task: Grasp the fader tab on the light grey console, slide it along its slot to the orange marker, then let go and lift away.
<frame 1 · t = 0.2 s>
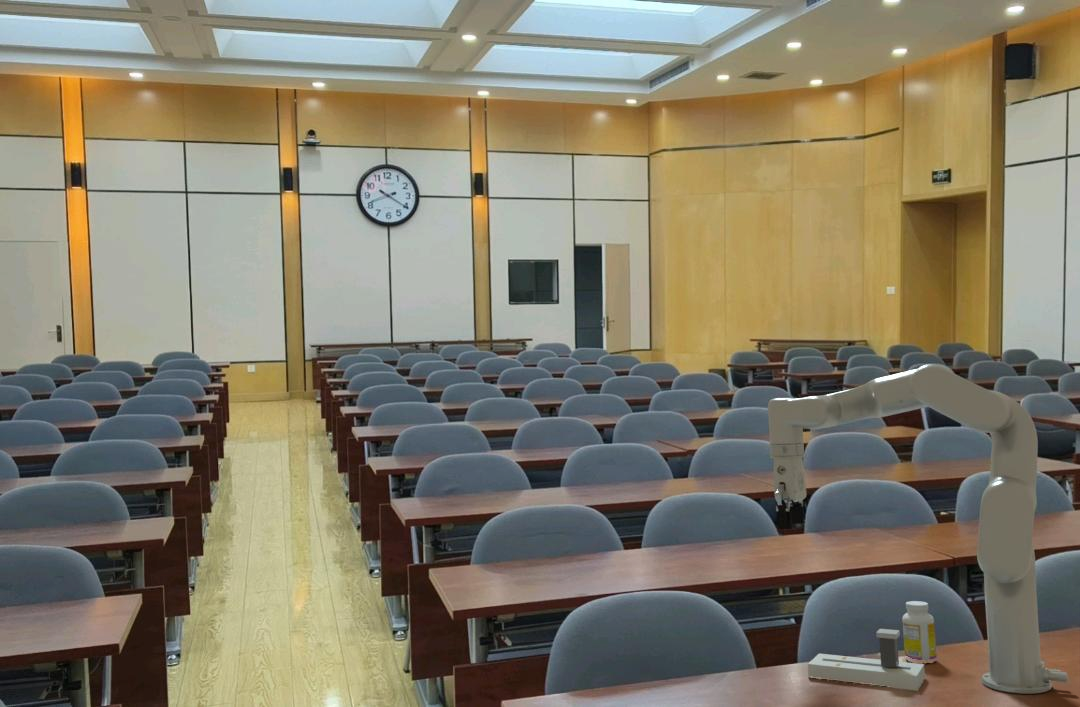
hand: (791, 526, 213), 31 cm above the table, tool pointing down, fingers open, 9 cm apart
fader tab: (889, 648, 195), point 7 cm above the table, slide at 0.0 cm
supplement bottle: (920, 661, 208), on the table
console: (866, 678, 197), on the table
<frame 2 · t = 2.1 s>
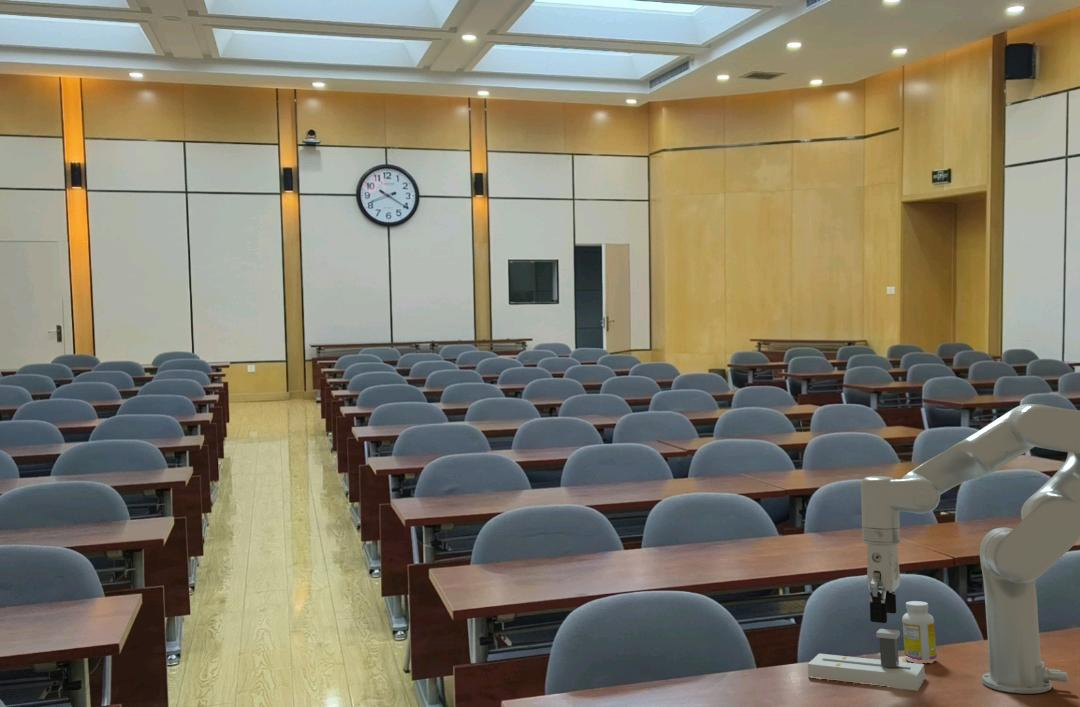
hand: (883, 617, 196), 13 cm above the table, tool pointing down, fingers open, 9 cm apart
nothing on the table moved.
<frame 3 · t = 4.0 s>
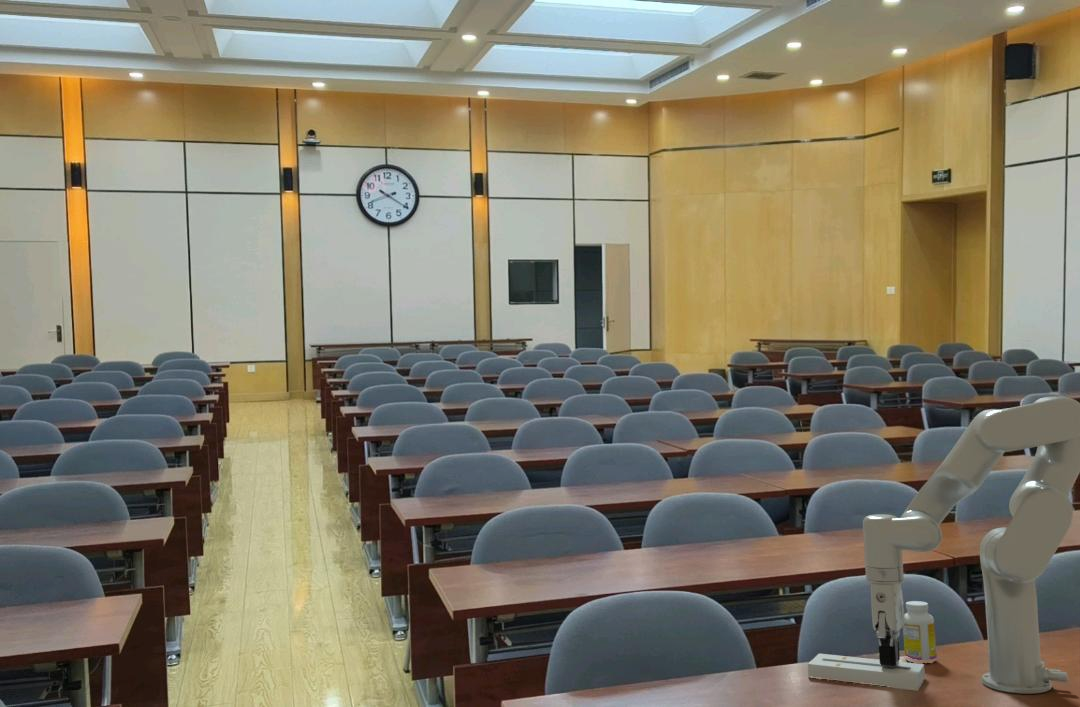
hand: (889, 661, 195), 4 cm above the table, tool pointing down, fingers closed on fader tab, 3 cm apart
fader tab: (889, 648, 195), point 7 cm above the table, slide at 0.0 cm, touching gripper
everything else where it was.
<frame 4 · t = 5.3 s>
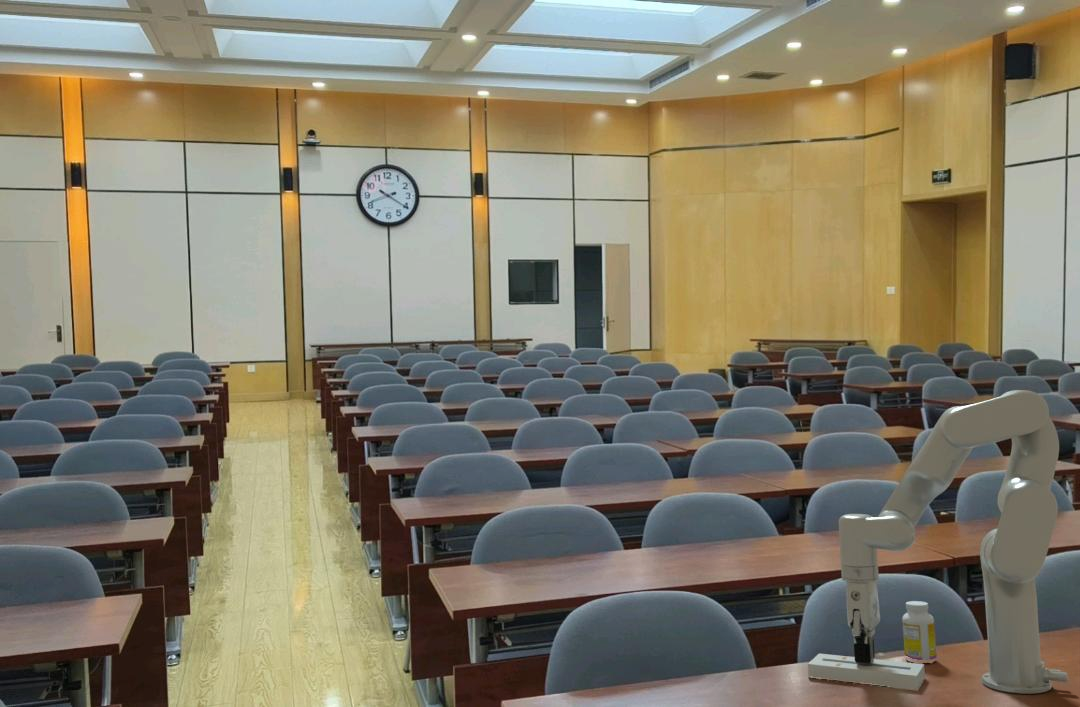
hand: (864, 659, 197), 4 cm above the table, tool pointing down, fingers closed on fader tab, 3 cm apart
fader tab: (864, 645, 198), point 7 cm above the table, slide at 5.1 cm, touching gripper
everything else where it was.
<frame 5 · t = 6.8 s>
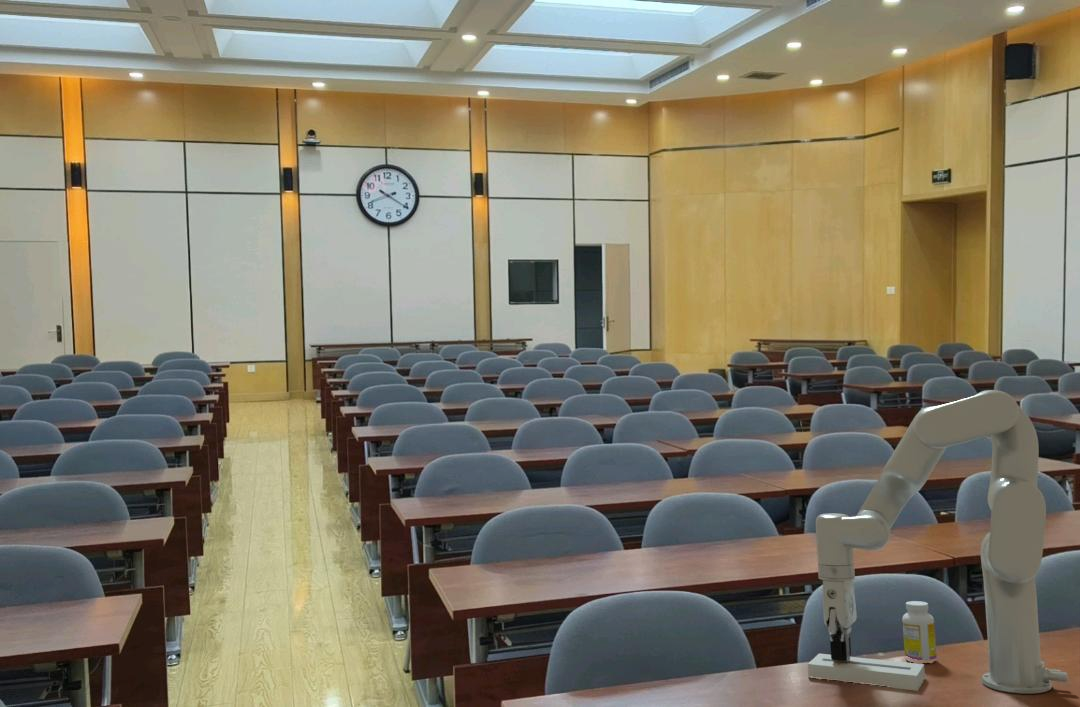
hand: (841, 656, 200), 4 cm above the table, tool pointing down, fingers closed on fader tab, 3 cm apart
fader tab: (840, 643, 200), point 7 cm above the table, slide at 10.0 cm, touching gripper
everything else where it was.
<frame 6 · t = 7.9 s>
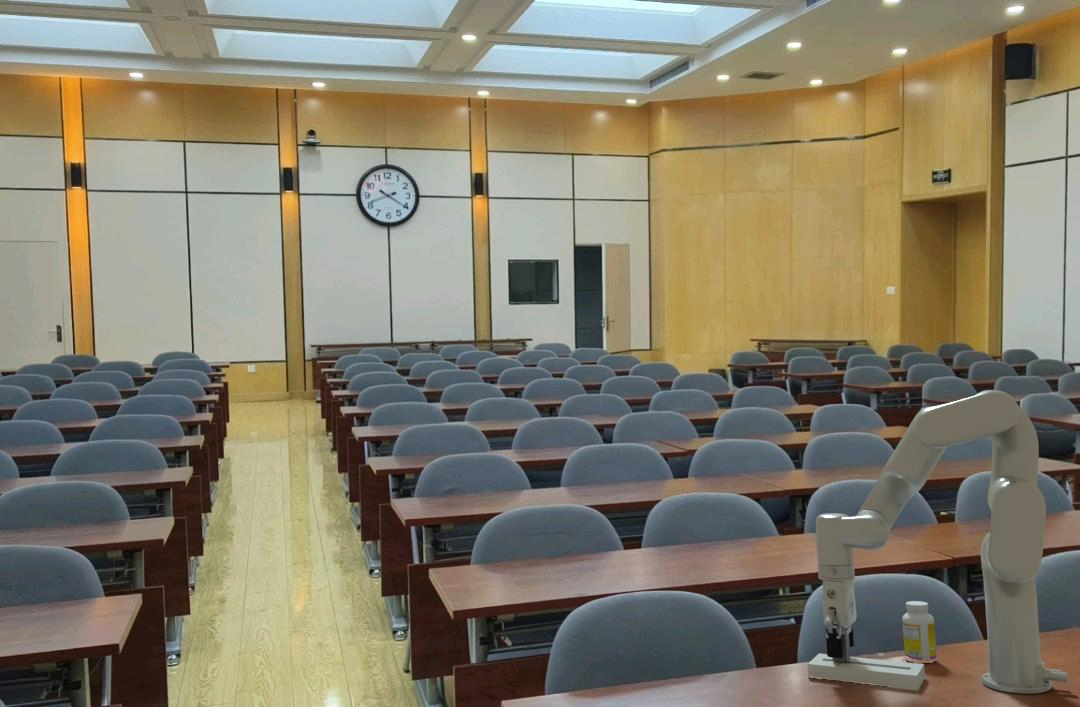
hand: (840, 651, 200), 5 cm above the table, tool pointing down, fingers open, 9 cm apart
fader tab: (840, 643, 200), point 7 cm above the table, slide at 10.0 cm
everything else where it was.
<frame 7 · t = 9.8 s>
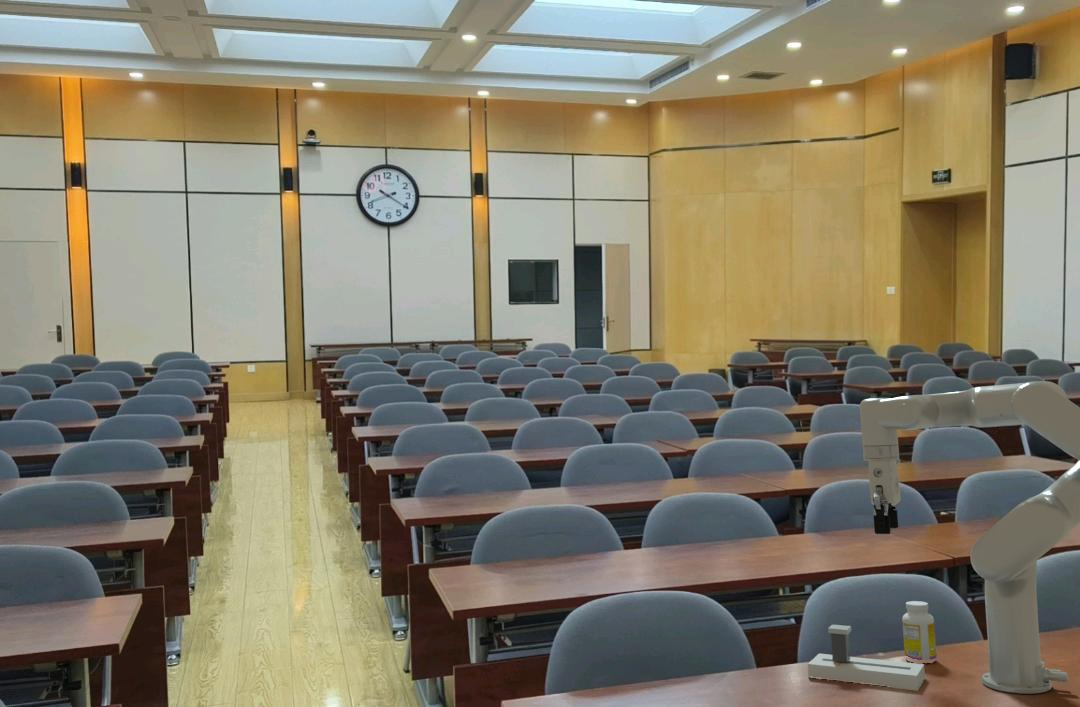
hand: (886, 530, 206), 30 cm above the table, tool pointing down, fingers open, 9 cm apart
nothing on the table moved.
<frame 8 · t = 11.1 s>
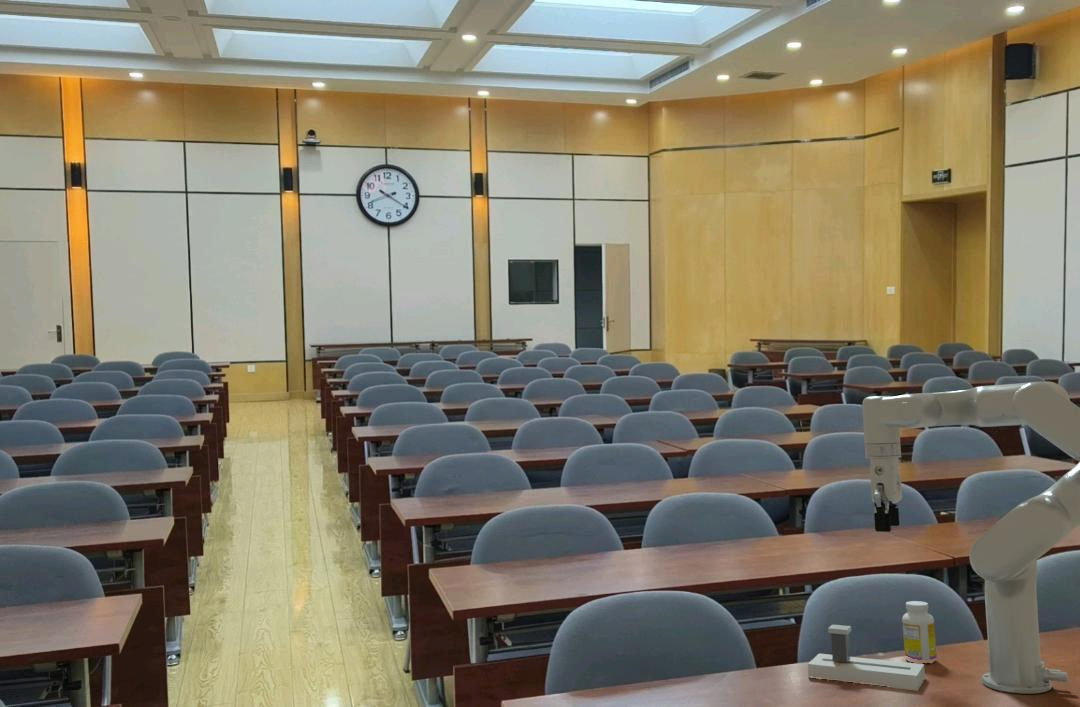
hand: (887, 528, 206), 30 cm above the table, tool pointing down, fingers open, 9 cm apart
nothing on the table moved.
at the end: fader tab slide at 10.0 cm; the gripper is holding nothing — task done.
